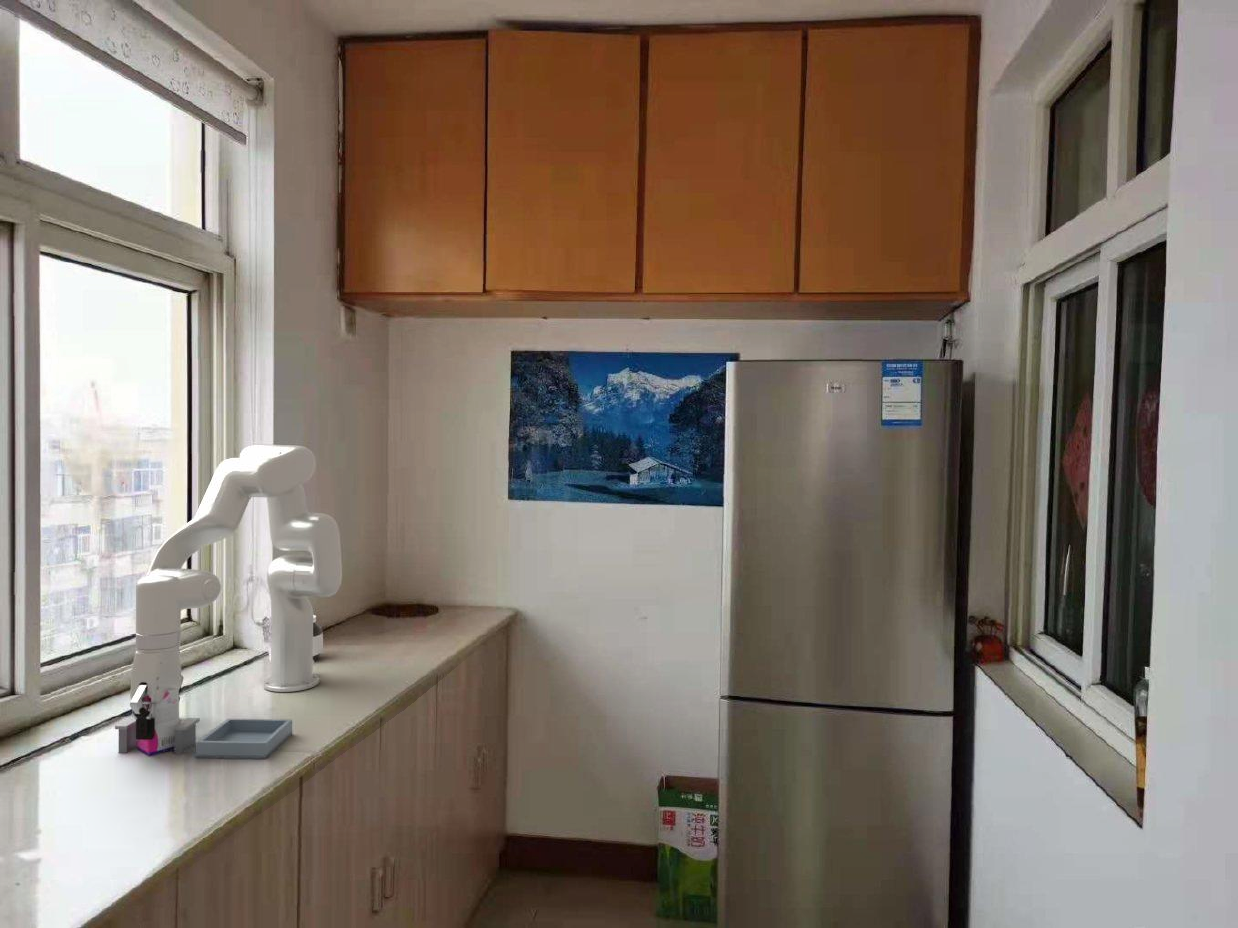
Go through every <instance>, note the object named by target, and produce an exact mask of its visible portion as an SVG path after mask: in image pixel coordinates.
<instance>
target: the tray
mask: <svg viewBox="0 0 1238 928" xmlns="http://www.w3.org/2000/svg"><path fill="white" fill-rule="evenodd" d="M292 734H293V719H292V718H291V719H290V718H289V719H288V718H286V719H285V718H284V719H282V718H281V719H279V718H231V717H230V718H226V719H225V720H224V721H222V723H219V724H218V725H217V726H216V727H215V728H213V729H212V730H210V731H209V732H208V733H206V734H205V735H204V736H202V737H201V738H199V739H198V740H197V741H196V744H195V759H230V760H231V759H232V760H233V759H238V760H243V759H244V760H266V759H268V758H269V756H271V755H272V754H273V753H274V752H275V751H276V750H278V748H279V747H280V746H281V745H282V744H284V742H285V741H286V740H288V739H289V738H290V737H291V736H292Z"/></svg>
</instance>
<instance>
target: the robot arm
mask: <svg viewBox="0 0 1238 928" xmlns="http://www.w3.org/2000/svg"><path fill="white" fill-rule="evenodd" d="M316 465H317V461H316V457H315V454H314V453H313V452H312V450H311V449H309V448H307V447H305V446H301V445H290V444H289V445H285V444H284V445H282V444H252V445H249V446H247V447H245V448H243V450H242V451H241V452H240V454H239V457H231V458H228V459H224V460H223V461H222V462H221V463H220V464H219V465H218V467H216V470H215V472H214V474H213V476H212V479H211V481H210V483H209V485H208V487H207V488H206V492H205V494H204V496H203V498H202V501H201V503H200V505H199V507H198V510H197V511H196V513H195V516H194V517H193V518H192V519H191V520H190V521H188V522H187V523H186V524H184V525H183V526H181V528H179V529H178V530H176V532H174V533H173V534H172V535H171V536H170V537H168V538H167V540H165V542H163V544H162V545H161V546H160V547H159V549H158V550H157V552H156V553H155V555H154V557H153V560H152V561H151V564H150V566H149V568H148V570H147V573H146V575H145V576H144V577H142V578H140V579H139V580H138V581H137V582H136V586H135V653H134V657H133V661H132V669H131V680H130V692H129V694H130V698H129V699H130V700H129V701H130V702H129V707H130V708H131V710H132V712H133V714H134V718H135V719H136V739H138V740H152V739H154V737H155V718H152V716H153V713H154V709H155V706H156V704H157V703H159V702H161V701H162V700H163V699H164V696H165V693H166V692H167V691H168V690H170V689H172V688H177V689H179V702H180V701H181V696H180V693H181V691H182V689H183V688H182V684H183V681H184V676H183V675H182V658H181V649H180V648H181V641H182V640H181V636H182V635H181V634H182V633H181V632H182V631H181V629H182V628H181V623H182V622H181V621H182V620H181V619H182V618H181V615H182V613H181V612H182V611H183V610H188V609H200V608H204V607H207V606H210V605H211V604H212V603H214V602H215V601H216V599H217V598H219V596H220V593H221V589H222V585H221V581H220V579H219V577H218V576H217V575H215V573H213V572H210V571H208V570H203V569H191V568H183V566H184V564H185V563H186V561H188V560H189V558H190V557H191V556H193V554H195V553H196V552H198V551H200V550H201V549H203V548H206V547H207V546H211V545H213V544H216V543H217V542H220V541H223V540H225V539H227V538H229V537H232V536H233V535H234V534H236V533H237V530H238V528H239V526H240V524H241V522H242V519H243V516H244V514H245V512H246V509H247V507H248V505H249V503H250V500H251V498H266V502H267V510H268V511H267V512H268V524H269V533H270V540H271V543H272V544H271V545H273V547H274V548H276V549H277V550H279V551H285V552H293V553H294V552H295V553H310V554H311V555H300V554H298V555H297V554H296V555H295V554H286V555H281V556H279V557H276V558H274V559H273V560H272V561H271V563H270V564H269V566H268V567H267V571H266V580H267V585H268V592H269V596H270V609H271V613H270V614H271V616H270V619H271V620H270V621H271V622H270V624H271V625H270V647H271V661H270V677H269V678H266V679H265V680H264V681H263V688H264V690H267V691H269V692H270V691H271V692H276V693H290V692H299V691H304V690H309V689H312V688H313V687H316V686H317V685H319V684H320V677H319V675H317V674H314V673H313V672H314V671H313V669H314V667H313V666H315V660H313V615H314V609H313V606H312V605H313V604H311V601H310V599H309V597H316V598H317V597H318V598H327V597H328V598H329V597H331V596H334V595H335V594H336V593H337V592H338V591H339V590H340V588H341V585H342V579H343V566H342V564H343V563H342V550H341V549H342V547H341V536H340V530H339V525H338V524H337V522H336V520H335V519H334V518H333V516H331V515H330V514H327V513H324V512H321V513H320V512H309V510H308V509H307V508H308V506H307V501H306V492H305V488H304V486H303V484H306V483H307V482H308V481H310V479H311V478H312V477H313V475H314V474H315V471H316V468H317V467H316ZM146 695H149V698H151V701H144V698H145V696H146ZM147 705H149V709H148V711H147V710H146V709H145V708H144V707H143V706H147Z"/></svg>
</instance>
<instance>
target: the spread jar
mask: <svg viewBox="0 0 1238 928" xmlns="http://www.w3.org/2000/svg"><path fill="white" fill-rule="evenodd" d="M323 648H324V633H323V629H322V627H321V625H320V624H318V623H317V615H314V614H313V660H314V661H315V660H317V658H318V657H320V655H321V654H322V652H323ZM268 658H269V661H270V662H271V646H270V648H269V651H268Z"/></svg>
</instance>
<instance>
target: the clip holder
mask: <svg viewBox="0 0 1238 928" xmlns="http://www.w3.org/2000/svg"><path fill="white" fill-rule="evenodd" d="M200 721H201V720H200V717H188V718H186V719H184V720H183V721H181V722H179V724H178V725H177V726H175V749H174V754H175V755H177V754H179V755H180V754H181V755H182V754H184V753H186V752H187V751H188V750H190V749H191V748H192V747H193V746H196V742H197V741H196V740H197V723H199V722H200ZM114 730H118V753H119V754H120V753H121V754H127V753H129V752H131V751H132V750H133V749H135V748H137V739H136V719H135V718H134V717H132V716H130V717H128V718H126V719H124V720H123V721H121V722H119V723H118V724H116V725H115V726H114Z"/></svg>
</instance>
